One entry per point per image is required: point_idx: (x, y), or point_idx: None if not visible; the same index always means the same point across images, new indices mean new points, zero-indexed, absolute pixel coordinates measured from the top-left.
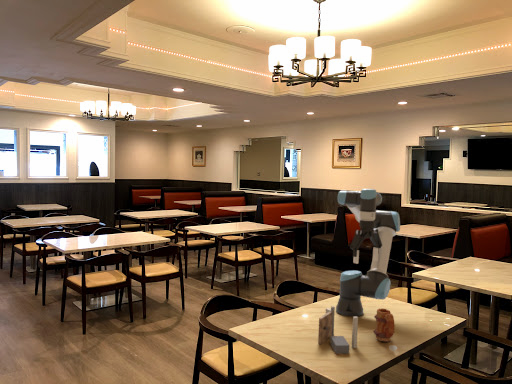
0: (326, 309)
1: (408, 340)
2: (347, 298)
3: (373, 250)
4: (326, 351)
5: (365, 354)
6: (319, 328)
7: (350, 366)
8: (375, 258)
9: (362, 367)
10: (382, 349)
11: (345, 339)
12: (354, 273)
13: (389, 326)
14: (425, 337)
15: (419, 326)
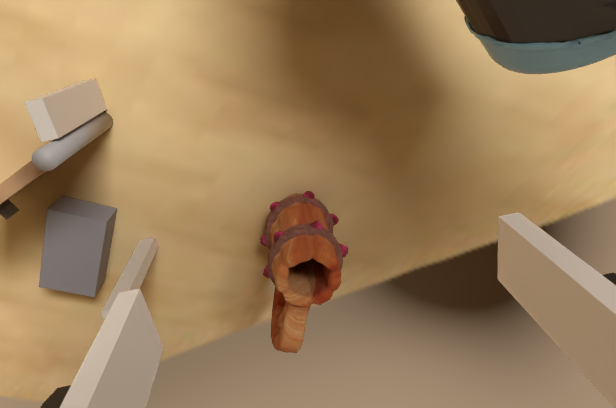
0: (28, 109)
1: (385, 245)
2: None
3: (596, 309)
4: (22, 247)
5: (161, 296)
6: None
7: (69, 347)
8: (513, 277)
9: None
10: (243, 280)
11: (101, 252)
12: None
13: (272, 329)
14: (464, 240)
15: (539, 149)
